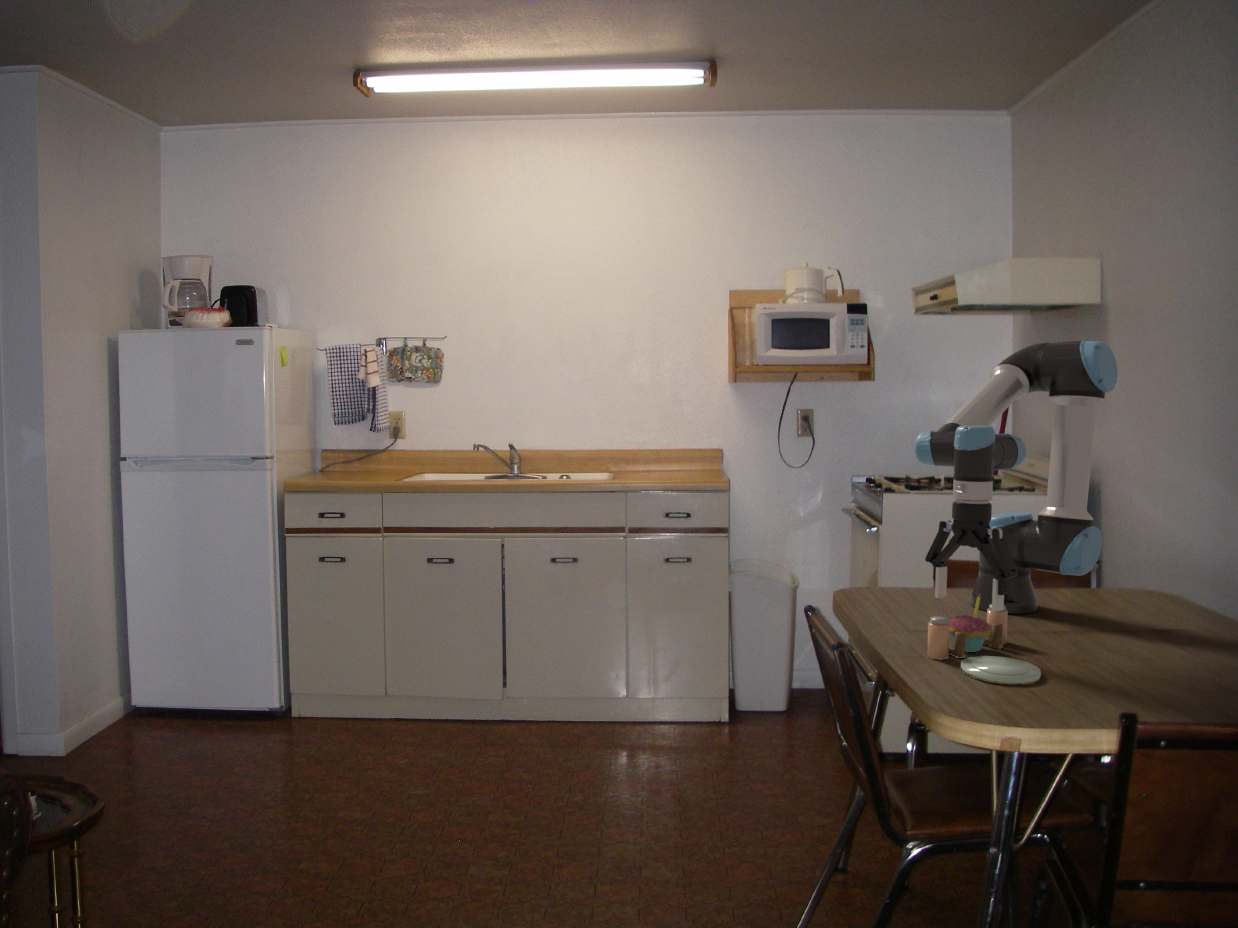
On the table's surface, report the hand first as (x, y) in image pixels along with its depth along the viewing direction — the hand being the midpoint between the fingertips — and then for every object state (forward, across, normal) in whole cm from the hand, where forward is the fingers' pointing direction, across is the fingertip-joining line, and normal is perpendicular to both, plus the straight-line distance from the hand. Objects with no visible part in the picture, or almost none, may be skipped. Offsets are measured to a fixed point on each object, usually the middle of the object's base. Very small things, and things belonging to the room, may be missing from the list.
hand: (968, 603), depth 186 cm
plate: (+10, +13, -7) cm, 18 cm away
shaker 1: (+10, 0, -9) cm, 13 cm away
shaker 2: (+10, 0, +10) cm, 14 cm away
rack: (+10, 0, +1) cm, 10 cm away
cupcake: (+10, 0, +1) cm, 10 cm away
